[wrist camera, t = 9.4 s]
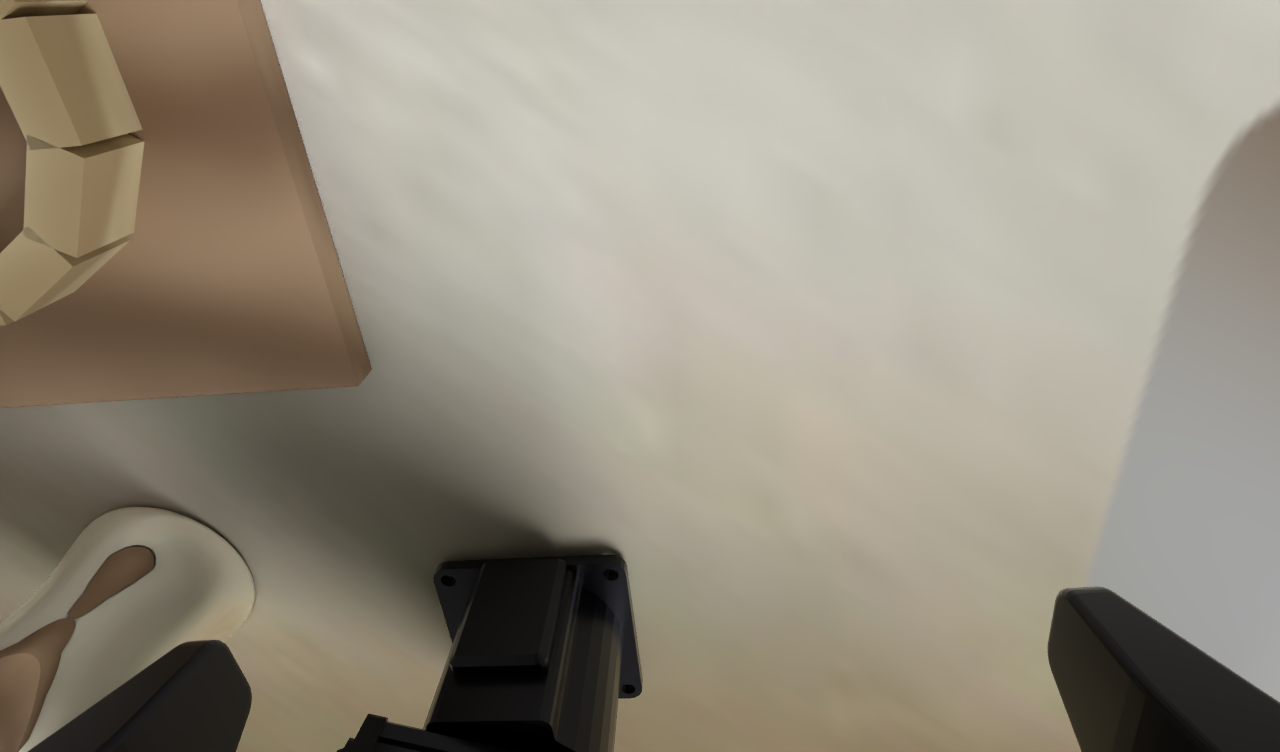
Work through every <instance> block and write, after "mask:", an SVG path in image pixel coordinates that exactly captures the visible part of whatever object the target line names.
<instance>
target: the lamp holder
mask: <svg viewBox="0 0 1280 752" xmlns="http://www.w3.org/2000/svg"><path fill="white" fill-rule="evenodd" d="M371 370H372V369H371V365H370V362H369V359H368V356H367V352H366V349H365V346H364V342H363V339H362V336H361V332H360V329H359V326H358V323H357V319H356V316H355V313H354V309H353V306H352V303H351V299H350V296H349V293H348V289H347V286H346V283H345V280H344V276H343V273H342V270H341V266H340V263H339V260H338V256H337V253H336V250H335V247H334V243H333V240H332V237H331V233H330V230H329V227H328V223H327V220H326V217H325V213H324V210H323V207H322V204H321V200H320V197H319V194H318V190H317V187H316V184H315V180H314V177H313V174H312V171H311V167H310V164H309V161H308V157H307V154H306V151H305V147H304V144H303V141H302V137H301V134H300V131H299V128H298V124H297V121H296V118H295V114H294V111H293V108H292V104H291V101H290V98H289V95H288V91H287V88H286V85H285V81H284V78H283V75H282V71H281V68H280V65H279V61H278V58H277V55H276V52H275V48H274V45H273V42H272V38H271V35H270V32H269V28H268V25H267V22H266V19H265V15H264V12H263V9H262V5H261V2H260V0H0V408H8V407H24V406H40V405H56V404H72V403H88V402H104V401H121V400H137V399H153V398H169V397H185V396H201V395H217V394H233V393H250V392H266V391H282V390H298V389H314V388H330V387H346V386H359V384H360V383H361V382H362V381H363V379H364V378H365V377H366V376H367V374H368V373H369V372H370V371H371Z"/></svg>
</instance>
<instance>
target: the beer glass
mask: <svg viewBox="0 0 1280 752" xmlns="http://www.w3.org/2000/svg"><path fill="white" fill-rule="evenodd" d="M254 599H255V588H254V582H253V579H252V576H251V573H250V571H249V569H248V567H247V565H246V563H245V562H244V560H243V559H242V557H241V556H240V555H239V553H238V552H237V551H236V550H235V549H234V548H233V547H232V546H231V545H230V544H229V543H228V542H227V541H226V540H225V539H224V538H222V537H221V536H220V535H219V534H217V533H216V532H215V531H213V530H212V529H210V528H208V527H207V526H205V525H203V524H202V523H200V522H198V521H196V520H194V519H191V518H189V517H187V516H184V515H181V514H179V513H175V512H172V511H168V510H164V509H159V508H151V507H126V508H120V509H116V510H113V511H110V512H107V513H105V514H103V515H101V516H100V517H98V518H97V519H95V520H94V521H92V522H91V523H90V524H89V525H88V526H87V527H86V528H85V529H84V530H83V531H82V533H81V534H80V535H79V536H78V538H77V539H76V540H75V542H74V543H73V544H72V546H71V547H70V548H69V550H68V551H67V553H66V554H65V555H64V557H63V558H62V560H61V561H60V562H59V564H58V565H57V566H56V568H55V569H54V570H53V572H52V573H51V575H50V576H49V577H48V578H47V579H46V581H45V582H44V583H43V584H42V585H41V587H40V588H39V589H38V590H37V591H36V592H35V593H34V594H33V595H32V596H31V597H30V598H29V599H28V600H27V601H26V602H25V603H24V604H23V605H22V606H20V607H19V608H18V609H17V610H16V611H14V612H13V613H12V614H11V615H9V616H8V617H7V618H6V619H5V620H3V621H2V622H1V623H0V752H27V751H29V750H30V749H32V748H33V747H35V746H36V745H37V744H39V743H40V742H42V741H43V740H44V739H46V738H47V737H49V736H50V735H52V734H53V733H54V732H56V731H57V730H59V729H60V728H61V727H63V726H64V725H66V724H67V723H68V722H70V721H71V720H73V719H74V718H76V717H77V716H78V715H80V714H81V713H83V712H84V711H85V710H87V709H88V708H90V707H91V706H93V705H94V704H95V703H97V702H98V701H100V700H101V699H102V698H104V697H105V696H107V695H108V694H110V693H111V692H112V691H114V690H115V689H117V688H118V687H119V686H121V685H122V684H124V683H125V682H127V681H128V680H129V679H131V678H132V677H134V676H135V675H136V674H138V673H139V672H141V671H142V670H144V669H145V668H146V667H148V666H149V665H151V664H152V663H153V662H155V661H156V660H158V659H159V658H161V657H162V656H163V655H165V654H166V653H168V652H169V651H170V650H172V649H173V648H175V647H176V646H178V645H179V644H182V643H184V642H188V641H200V640H220V641H222V642H223V643H225V642H226V641H227V640H228V639H229V638H230V637H231V636H232V635H233V634H234V633H235V632H236V631H237V630H238V629H239V628H240V627H241V626H242V624H243V623H244V622H245V621H246V619H247V618H248V616H249V614H250V612H251V610H252V607H253V604H254Z"/></svg>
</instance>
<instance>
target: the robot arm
mask: <svg viewBox="0 0 1280 752" xmlns="http://www.w3.org/2000/svg"><path fill="white" fill-rule="evenodd" d="M608 569H613V570H615V571H616V572H609V571H607V570H608ZM446 575H450V576H452V577H454V578H450V577H448V576H446ZM434 583H435V587H436V590H437V593H438V596H439V600H440V603H441V606H442V610H443V613H444V616H445V619H446V623H447V626H448V629H449V633H450V636H451V639H452V642H453V645H452V647H451V650H450V653H449V656H448V659H447V662H446V665H445V667H444V670H443V673H442V676H441V679H440V682H439V684H438V687H437V690H436V693H435V696H434V699H433V702H432V704H431V707H430V710H429V713H428V716H427V719H426V722H425V724H424V727H423V729H419V728H414V727H410V726H405V725H401V724H396V723H392V722H387V721H388V718H386V717H382V716H377V715H373V714H368V715H367V717H366V719H365V721H364V723H363V724H362V726H361V728H360V730H359V732H358V734H357V736H356V738H355V739H353V738H349V740H348V742H347V743H346V745H345V747H344V748H343V749H340V750H337V752H613V751H614V740H615V729H616V718H617V707H618V698H635V697H637V696H639V695H640V693H641V692H642V680H643V679H642V672H641V665H640V657H639V650H638V643H637V636H636V629H635V621H634V614H633V607H632V600H631V592H630V585H629V578H628V571H627V565H626V563H625V561H624V560H623V559H622V558H620V557H618V556H616V555H595V556H569V557H543V558H517V559H491V560H465V561H447V562H443V563H441V564H440V565H439V566H438V568H437V570H436V573H435V575H434ZM1048 659H1049V664H1050V668H1051V671H1052V674H1053V676H1054V679H1055V682H1056V684H1057V687H1058V690H1059V693H1060V695H1061V698H1062V701H1063V703H1064V706H1065V709H1066V711H1067V714H1068V717H1069V719H1070V722H1071V725H1072V727H1073V730H1074V733H1075V735H1076V738H1077V741H1078V743H1079V746H1080V749H1081V752H1280V702H1278V701H1277V700H1276V699H1274V698H1272V697H1271V696H1269V695H1268V694H1266V693H1265V692H1263V691H1262V690H1260V689H1259V688H1257V687H1256V686H1254V685H1253V684H1251V683H1250V682H1248V681H1247V680H1245V679H1244V678H1242V677H1241V676H1239V675H1238V674H1236V673H1235V672H1233V671H1232V670H1230V669H1229V668H1227V667H1226V666H1224V665H1223V664H1221V663H1220V662H1218V661H1217V660H1215V659H1214V658H1212V657H1211V656H1209V655H1208V654H1206V653H1205V652H1203V651H1202V650H1200V649H1199V648H1197V647H1196V646H1194V645H1193V644H1191V643H1190V642H1188V641H1187V640H1185V639H1184V638H1182V637H1181V636H1179V635H1178V634H1176V633H1175V632H1173V631H1172V630H1170V629H1169V628H1167V627H1166V626H1164V625H1163V624H1161V623H1159V622H1157V620H1155V619H1153V618H1152V617H1151V616H1149V615H1147V614H1146V613H1145V612H1143V611H1142V610H1140V609H1138V608H1137V607H1136V606H1134V605H1133V604H1131V603H1130V602H1128V601H1126V600H1125V599H1123V598H1122V597H1120V596H1119V595H1117V594H1116V593H1114V592H1112V591H1111V590H1109V589H1106V588H1104V587H1082V588H1066V589H1063V590H1061V591H1060V592H1059V593H1058V595H1057V597H1056V600H1055V606H1054V612H1053V618H1052V623H1051V629H1050V635H1049V641H1048ZM629 684H630V685H629ZM251 701H252V693H251V688H250V686H249V684H248V682H247V680H246V678H245V676H244V675H243V673H242V671H241V669H240V667H239V666H238V664H237V662H236V660H235V658H234V657H233V655H232V653H231V651H230V650H229V648H228V647H227V645H226V644H225V643H223V642H222V641H220V640H200V641H188V642H184V643H182V644H179V645H178V646H176V647H175V648H173V649H172V650H170V651H169V652H168V653H166V654H165V655H163V656H162V657H161V658H159V659H158V660H156V661H155V662H153V663H152V664H151V665H149V666H148V667H146V668H145V669H144V670H142V671H141V672H139V673H138V674H136V675H135V676H134V677H132V678H131V679H129V680H128V681H127V682H125V683H124V684H122V685H121V686H119V687H118V688H117V689H115V690H114V691H112V692H111V693H110V694H108V695H107V696H105V697H104V698H102V699H101V700H100V701H98V702H97V703H95V704H94V705H93V706H91V707H90V708H88V709H87V710H85V711H84V712H83V713H81V714H80V715H78V716H77V717H76V718H74V719H73V720H71V721H70V722H68V723H67V724H66V725H64V726H63V727H61V728H60V729H59V730H57V731H56V732H54V733H53V734H52V735H50V736H49V737H47V738H46V739H44V740H43V741H42V742H40V743H39V744H37V745H36V746H35V747H33V748H32V749H30V750H29V751H27V752H236V749H237V746H238V744H239V741H240V738H241V735H242V732H243V729H244V726H245V723H246V720H247V718H248V715H249V712H250V708H251Z"/></svg>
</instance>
